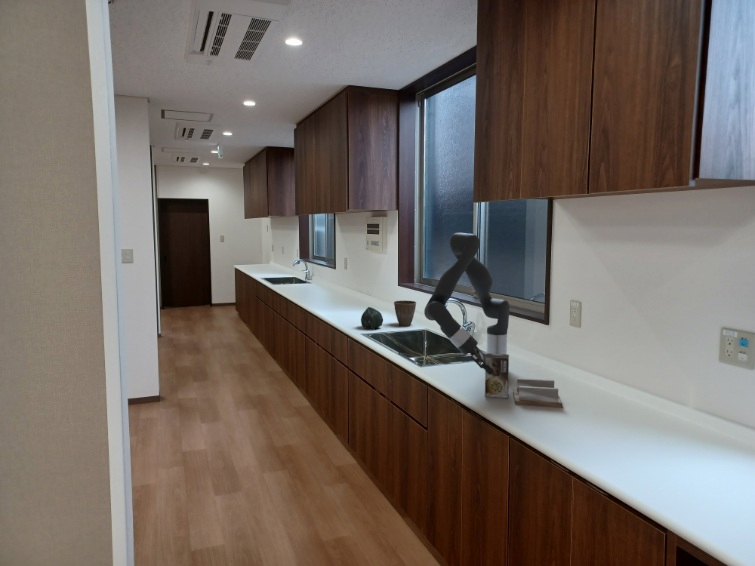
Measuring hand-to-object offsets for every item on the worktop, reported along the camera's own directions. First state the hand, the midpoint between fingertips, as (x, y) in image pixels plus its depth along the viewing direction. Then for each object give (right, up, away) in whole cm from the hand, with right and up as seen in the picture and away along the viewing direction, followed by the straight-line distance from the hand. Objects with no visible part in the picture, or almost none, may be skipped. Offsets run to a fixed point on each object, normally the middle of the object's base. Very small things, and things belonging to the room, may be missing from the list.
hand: (491, 370), depth 207 cm
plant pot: (-27, +6, +145) cm, 148 cm away
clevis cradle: (+16, -11, -5) cm, 20 cm away
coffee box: (+2, -10, +1) cm, 10 cm away
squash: (-49, +5, +136) cm, 145 cm away
